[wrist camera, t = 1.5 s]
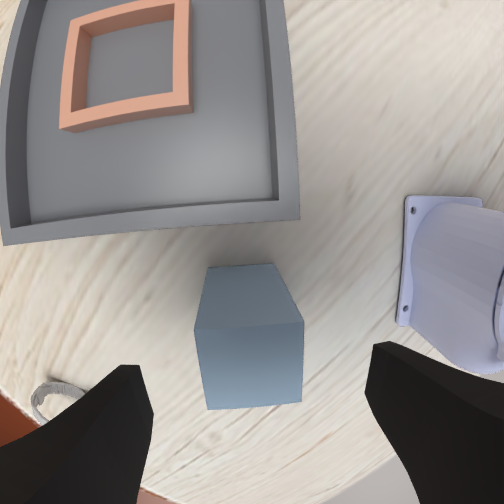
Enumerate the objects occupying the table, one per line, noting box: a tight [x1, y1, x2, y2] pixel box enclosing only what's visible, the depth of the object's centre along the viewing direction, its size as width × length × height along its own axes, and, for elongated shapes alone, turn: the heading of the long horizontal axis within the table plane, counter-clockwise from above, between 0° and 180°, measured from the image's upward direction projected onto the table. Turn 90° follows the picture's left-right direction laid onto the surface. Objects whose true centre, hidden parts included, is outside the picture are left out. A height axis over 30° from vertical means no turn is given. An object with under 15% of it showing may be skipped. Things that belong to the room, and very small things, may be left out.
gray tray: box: [0, 0, 300, 246], centre depth 13 cm, size 20×18×3 cm
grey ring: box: [31, 381, 85, 426], centre depth 17 cm, size 3×5×5 cm, turn 73°
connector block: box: [194, 263, 304, 410], centre depth 15 cm, size 4×4×8 cm
